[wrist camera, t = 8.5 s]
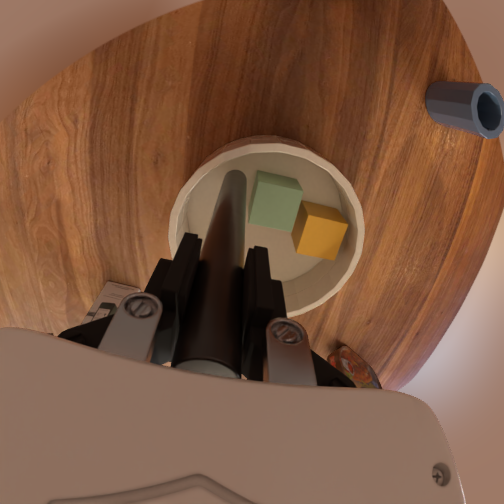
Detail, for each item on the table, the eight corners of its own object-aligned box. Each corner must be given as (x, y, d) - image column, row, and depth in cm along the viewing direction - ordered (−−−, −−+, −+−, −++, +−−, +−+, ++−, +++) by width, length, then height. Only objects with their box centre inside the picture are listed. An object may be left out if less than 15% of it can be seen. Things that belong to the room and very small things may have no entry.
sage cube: (257, 169, 27) (258, 180, 24) (297, 178, 28) (304, 191, 24) (248, 207, 29) (248, 223, 26) (286, 215, 30) (291, 232, 26)
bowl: (196, 119, 25) (182, 124, 20) (366, 160, 27) (391, 176, 22) (175, 271, 34) (163, 303, 28) (316, 296, 36) (325, 329, 30)
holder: (430, 73, 22) (477, 73, 15) (462, 93, 22) (509, 100, 15) (420, 114, 24) (466, 124, 17) (453, 132, 25) (499, 147, 18)
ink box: (142, 333, 39) (119, 399, 29) (111, 325, 38) (82, 388, 28) (141, 287, 35) (108, 357, 25) (106, 279, 34) (67, 343, 24)
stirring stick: (226, 167, 24) (169, 351, 7) (248, 171, 24) (248, 364, 7) (221, 188, 25) (168, 392, 8) (244, 193, 25) (234, 403, 8)
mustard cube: (301, 199, 29) (308, 214, 25) (337, 208, 29) (348, 224, 26) (290, 234, 31) (295, 253, 27) (325, 242, 31) (334, 260, 28)
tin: (378, 373, 45) (391, 412, 37) (363, 382, 46) (375, 420, 38) (336, 335, 39) (350, 382, 32) (318, 346, 40) (329, 393, 33)
